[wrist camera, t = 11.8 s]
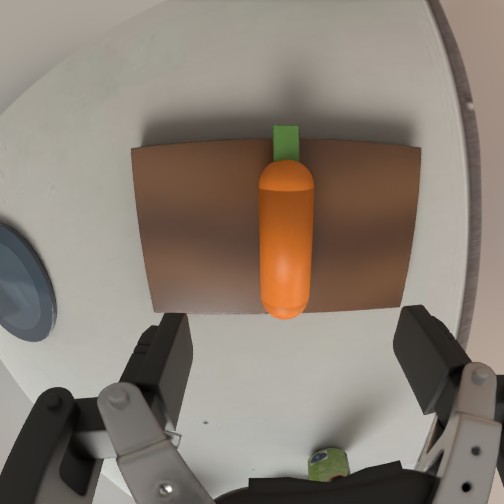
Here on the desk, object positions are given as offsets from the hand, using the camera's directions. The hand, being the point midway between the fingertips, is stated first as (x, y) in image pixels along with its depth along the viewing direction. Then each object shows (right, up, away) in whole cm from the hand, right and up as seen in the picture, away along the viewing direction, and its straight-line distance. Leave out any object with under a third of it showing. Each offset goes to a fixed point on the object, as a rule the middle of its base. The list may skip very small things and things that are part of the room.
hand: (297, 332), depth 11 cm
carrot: (+1, +5, +11) cm, 13 cm away
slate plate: (-31, -1, +17) cm, 36 cm away
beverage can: (+10, -27, +27) cm, 39 cm away
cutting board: (+1, +5, +14) cm, 15 cm away
